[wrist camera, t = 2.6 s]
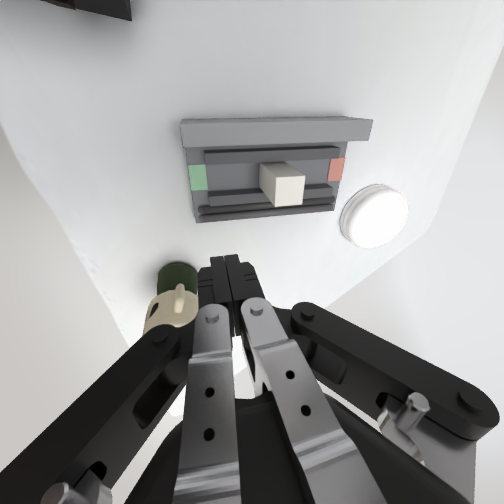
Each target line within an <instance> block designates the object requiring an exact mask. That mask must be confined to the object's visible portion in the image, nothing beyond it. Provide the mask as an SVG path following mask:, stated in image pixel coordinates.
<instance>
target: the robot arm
mask: <svg viewBox="0 0 504 504" xmlns="http://www.w3.org/2000/svg"><path fill="white" fill-rule="evenodd" d="M210 261H211V267H203V268H201V269H200V271H199V272H198V274H197V277H198V312H197V314H196V317H195V318H194V319H193V320H192V321H191V322H189V323H188V324H186V325H184V326H181V327H179V328H176V327H175V326H173V325H170V324H161V325H157V326H155V327H153V328H151V329H150V330H149V331H147V332H146V333H145V334H144V335H143V336H142V337H141V338H140V339H139V340H138V341H137V342H136V343H135V344H134V345H133V346H132V347H131V348H130V349H129V350H128V351H127V352H125V354H124V355H122V356H121V357H120V358H119V360H117V361H116V362H115V363H114V364H113V365H112V366H111V367H110V368H109V369H108V370H107V371H106V372H105V373H104V374H103V375H101V376H100V377H99V378H98V379H97V380H96V381H95V382H94V383H93V384H92V385H91V386H90V387H89V388H88V389H87V390H86V391H85V392H84V393H83V394H82V395H81V396H80V397H79V398H78V399H76V400H75V401H74V402H73V403H72V404H71V405H70V406H69V407H68V408H67V409H66V410H65V411H64V412H63V413H62V414H61V415H60V416H59V417H58V418H57V419H56V420H55V421H54V422H52V423H51V424H50V425H49V426H48V427H47V428H46V429H45V430H44V431H43V432H42V433H41V434H40V435H39V436H38V437H37V438H36V439H35V440H34V441H33V442H32V443H31V444H30V445H29V446H27V447H26V449H24V450H23V451H22V452H21V453H20V454H19V455H18V456H17V457H16V458H15V459H14V460H13V461H12V462H11V463H10V464H9V465H8V466H7V467H6V468H5V469H3V470H2V471H1V472H0V504H112V494H111V489H112V487H113V486H114V484H115V483H116V482H117V480H118V479H119V478H120V476H121V475H122V473H123V472H124V471H125V469H126V468H127V466H128V465H129V464H130V462H131V460H132V459H133V458H134V456H135V455H136V454H137V452H138V451H139V450H140V448H141V447H142V445H143V444H144V442H145V441H146V440H147V438H148V437H149V436H150V434H151V433H152V431H153V429H155V427H156V426H157V424H158V423H159V421H160V420H161V419H162V417H163V416H164V414H165V413H166V412H167V410H168V409H169V408H170V406H171V405H172V403H173V402H174V400H175V399H176V398H177V396H178V395H179V393H180V392H181V391H182V389H183V388H184V386H185V385H186V394H185V405H184V415H183V420H182V421H181V422H180V423H179V424H178V425H177V426H175V428H174V429H173V430H172V431H171V432H170V433H169V434H168V435H167V437H166V438H165V439H164V441H163V442H162V444H161V445H160V447H159V448H158V450H157V451H156V453H155V455H154V456H153V458H152V460H151V461H150V463H149V464H148V466H147V468H146V469H145V471H144V472H143V474H142V475H141V477H140V479H139V480H138V482H137V484H136V485H135V487H134V488H133V490H132V492H131V493H130V495H129V496H128V498H127V499H126V501H125V503H124V504H474V488H475V458H476V442H477V441H478V440H479V439H480V438H481V437H483V436H484V435H485V434H486V433H488V432H489V431H490V430H491V429H493V428H494V427H495V426H496V425H497V424H498V423H499V420H500V419H499V418H500V416H499V412H498V410H497V408H496V406H495V404H494V403H493V402H492V401H491V399H490V398H489V397H488V396H487V395H486V394H485V393H484V392H482V391H481V390H480V389H478V388H477V387H475V386H474V385H472V384H470V383H468V382H466V381H464V380H462V379H460V378H458V377H456V376H454V375H452V374H451V373H449V372H447V371H444V370H443V369H441V368H439V367H437V366H434V365H433V364H431V363H429V362H427V361H425V360H423V359H421V358H419V357H417V356H415V355H413V354H411V353H409V352H407V351H405V350H403V349H401V348H399V347H398V346H396V345H394V344H392V343H390V342H388V341H386V340H384V339H382V338H380V337H378V336H376V335H374V334H372V333H370V332H368V331H366V330H364V329H362V328H360V327H358V326H356V325H354V324H352V323H350V322H349V321H347V320H345V319H343V318H341V317H339V316H337V315H335V314H333V313H331V312H329V311H327V310H325V309H323V308H321V307H319V306H317V305H315V304H313V303H309V302H300V303H297V304H296V305H294V306H293V308H292V310H289V309H280V308H276V307H274V306H272V305H271V304H270V302H269V301H267V300H266V299H265V296H264V294H263V291H262V288H261V286H260V283H259V280H258V277H257V275H256V272H255V269H254V267H253V266H252V265H251V264H250V263H249V262H243V263H240V261H239V258H238V255H237V254H234V255H226V256H224V257H223V256H218V257H210ZM224 261H225V262H224ZM234 328H235V333H236V336H240V335H241V338H242V346H243V353H244V356H245V360H246V363H247V366H248V370H249V373H250V377H251V380H252V383H253V387H254V391H255V398H253V399H236V398H235V391H234V377H233V363H232V348H233V345H232V337H235V333H234ZM316 379H317V380H318V381H320V382H321V383H323V384H324V385H325V386H327V387H328V388H330V389H331V390H333V391H334V392H336V393H337V394H338V395H340V396H341V397H343V398H344V399H346V400H347V401H348V402H350V403H351V404H353V405H354V406H356V407H357V408H359V409H360V410H362V411H363V412H364V413H366V414H368V415H369V416H370V417H371V418H373V419H374V420H376V421H377V422H378V426H379V428H380V431H381V432H382V434H383V435H382V434H381V433H380V432H378V431H377V430H376V429H374V428H373V427H372V426H370V425H369V424H368V423H366V422H365V421H364V420H362V419H361V418H360V417H358V416H357V415H356V414H355V413H353V412H352V411H350V410H349V409H348V408H346V407H345V406H344V405H343V404H341V403H340V402H338V401H337V400H336V399H334V398H332V397H331V396H329V395H327V394H325V393H323V392H322V390H321V388H320V386H319V384H318V383H317V380H316ZM186 383H187V384H186Z"/></svg>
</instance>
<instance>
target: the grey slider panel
mask: <svg viewBox="0 0 504 504" xmlns="http://www.w3.org/2000/svg"><path fill="white" fill-rule="evenodd" d="M372 123H373V120H370V119H361V118H353V117H344V116H341V117H285V118H228V119H182V120H181V122H180V129H181V136H182V143H183V147H185V149H186V156H187V163H188V171H189V177H190V184H191V191H192V198H193V205H194V212H195V218H196V223H205V222H216V221H227V220H238V219H248V218H259V217H270V216H281V215H292V214H303V213H314V212H324V211H334V208H335V203H336V198H337V193H338V188H339V183H340V180H341V177H342V172H343V167H344V162H345V153H346V148H347V143H348V141H368V140H369V136H370V132H371V128H372ZM280 161H284V162H286V163H287V164H289V165H290V166H292V167H293V168H295V169H296V170H298V171H299V172H301V173H302V174H304V175H305V184H304V192H303V201H302V205H290V206H278V207H275V206H274V205H273V204H272V202H271V201H270V200H269V198H268V197H267V196H266V195H265V193H264V192H263V191H262V189H261V188H260V187H259V166H260V162H280Z"/></svg>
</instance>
